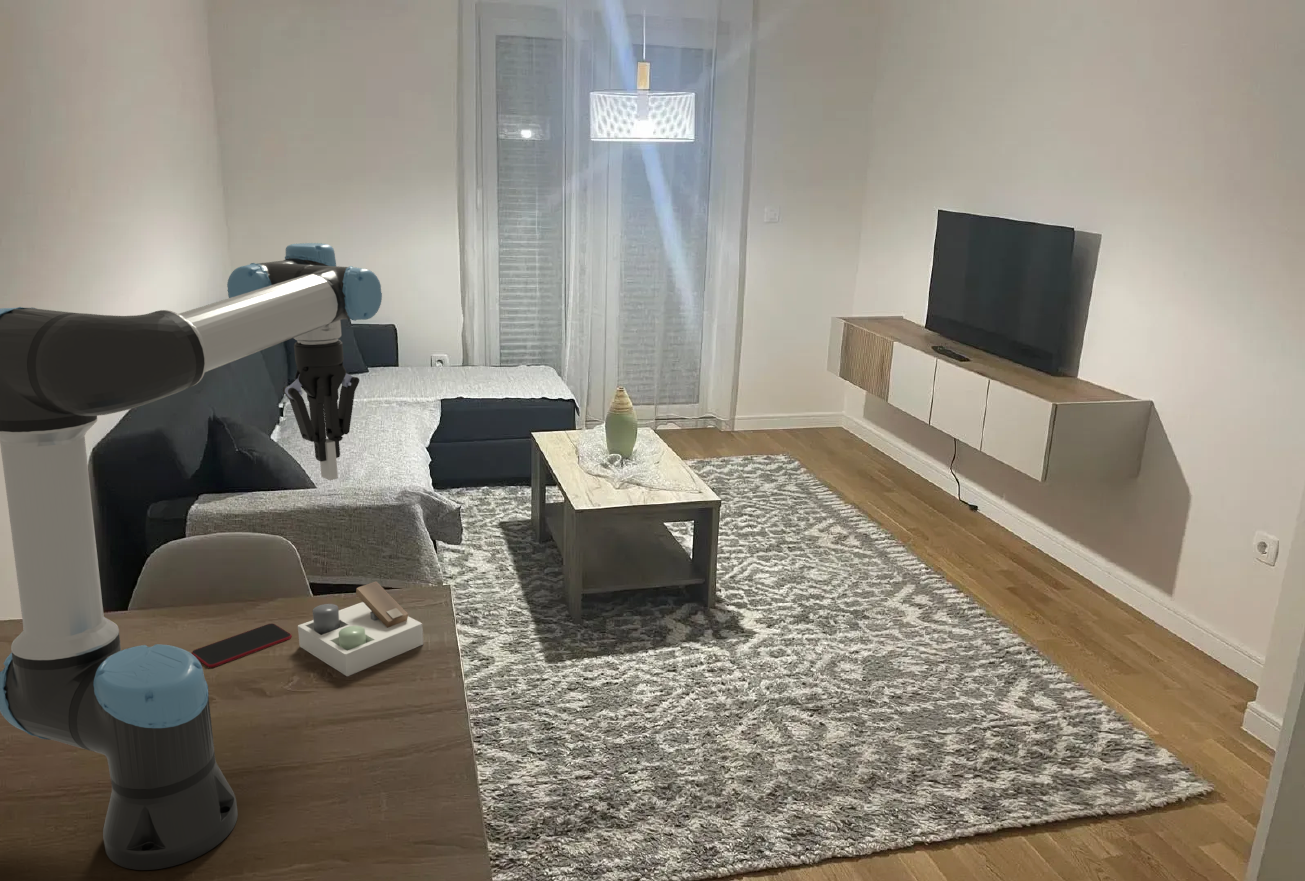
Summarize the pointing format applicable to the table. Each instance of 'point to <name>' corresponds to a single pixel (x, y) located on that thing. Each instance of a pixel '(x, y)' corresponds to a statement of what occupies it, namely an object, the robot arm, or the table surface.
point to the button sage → (351, 637)
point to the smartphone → (241, 645)
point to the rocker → (381, 604)
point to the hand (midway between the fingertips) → (329, 477)
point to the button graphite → (326, 618)
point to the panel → (375, 650)
